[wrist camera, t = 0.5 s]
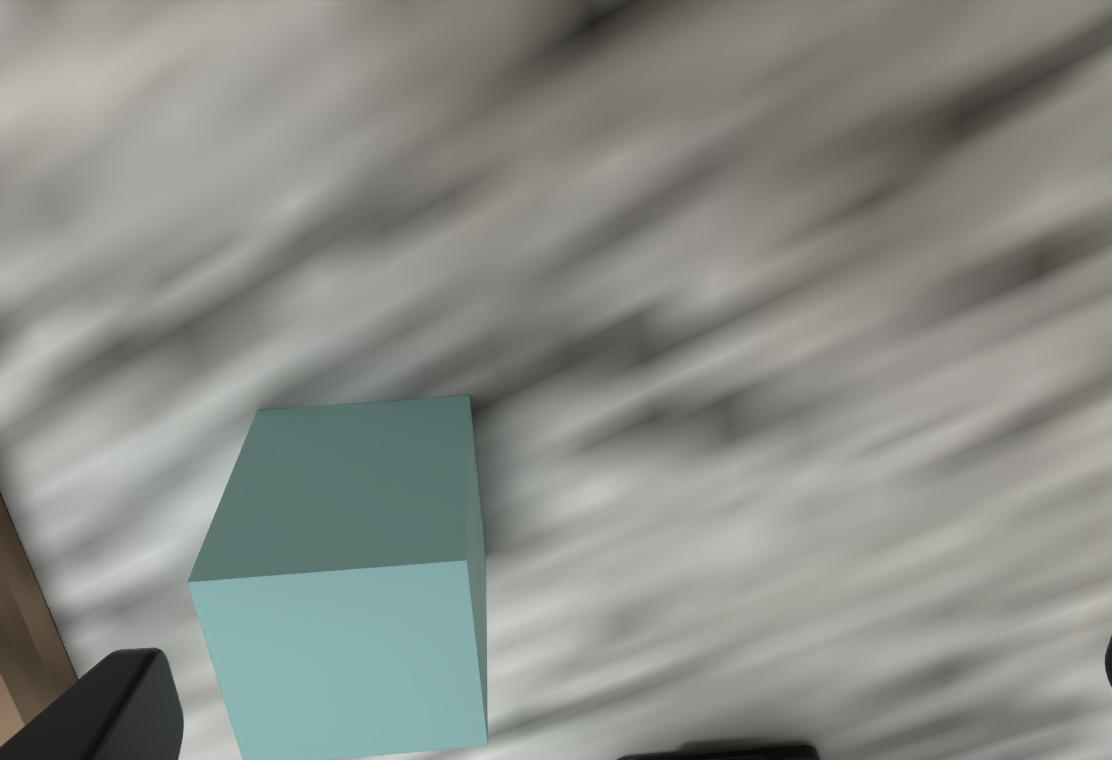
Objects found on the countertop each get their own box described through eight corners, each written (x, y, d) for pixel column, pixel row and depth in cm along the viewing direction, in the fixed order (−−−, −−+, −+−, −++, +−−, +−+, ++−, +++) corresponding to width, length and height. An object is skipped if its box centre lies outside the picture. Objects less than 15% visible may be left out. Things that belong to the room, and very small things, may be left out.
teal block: (486, 556, 24) (487, 746, 19) (295, 571, 24) (244, 767, 19) (469, 394, 22) (466, 560, 17) (257, 409, 22) (187, 582, 16)
